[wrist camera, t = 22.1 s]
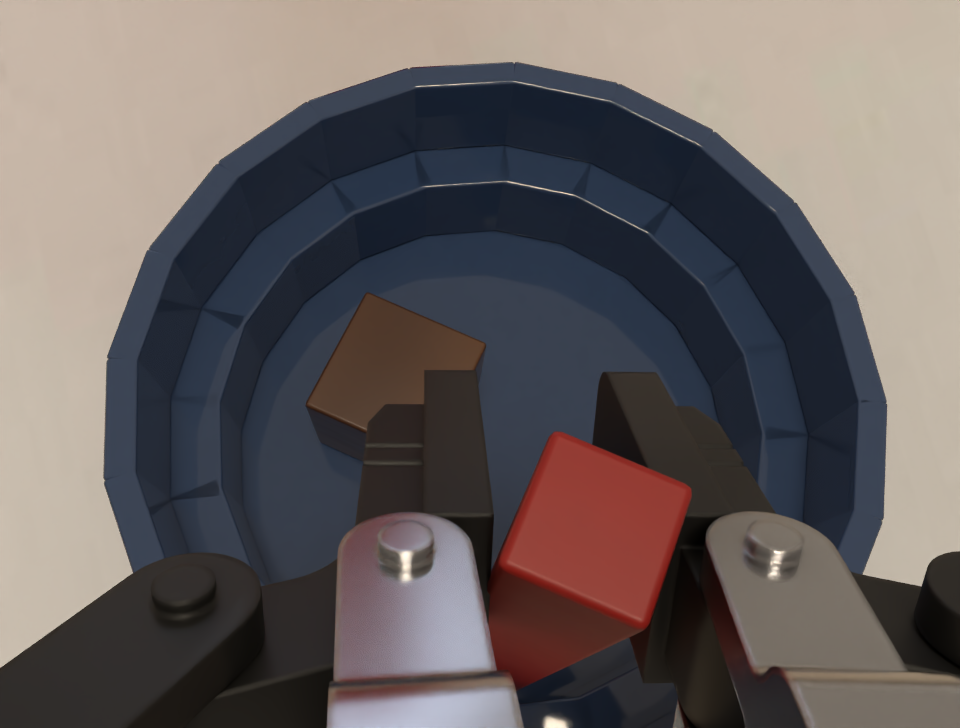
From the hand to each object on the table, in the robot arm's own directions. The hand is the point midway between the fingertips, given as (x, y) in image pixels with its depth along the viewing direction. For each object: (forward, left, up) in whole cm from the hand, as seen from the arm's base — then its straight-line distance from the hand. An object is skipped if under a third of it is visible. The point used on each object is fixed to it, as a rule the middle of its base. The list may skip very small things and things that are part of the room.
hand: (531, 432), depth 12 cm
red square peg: (-1, +2, -8) cm, 8 cm away
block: (+3, -2, -9) cm, 10 cm away
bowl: (+1, -2, -10) cm, 10 cm away
